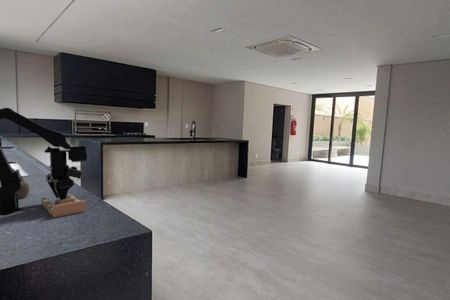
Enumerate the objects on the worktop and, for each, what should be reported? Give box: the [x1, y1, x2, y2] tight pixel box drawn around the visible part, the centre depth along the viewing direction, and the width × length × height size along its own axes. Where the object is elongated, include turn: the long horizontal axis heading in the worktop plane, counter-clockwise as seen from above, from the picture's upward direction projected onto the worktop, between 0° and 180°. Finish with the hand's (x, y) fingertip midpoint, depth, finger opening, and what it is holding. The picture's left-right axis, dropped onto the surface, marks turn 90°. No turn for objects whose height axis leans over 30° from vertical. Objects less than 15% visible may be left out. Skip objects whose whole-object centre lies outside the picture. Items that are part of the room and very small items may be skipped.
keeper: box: [54, 198, 77, 205], centre depth 107 cm, size 8×6×4 cm
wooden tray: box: [41, 193, 81, 217], centre depth 111 cm, size 20×11×2 cm, turn 43°
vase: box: [14, 179, 30, 200], centre depth 123 cm, size 7×7×9 cm
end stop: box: [52, 199, 87, 218], centre depth 103 cm, size 2×11×4 cm, turn 133°
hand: (60, 200), depth 113 cm, fingers open, 9 cm apart
